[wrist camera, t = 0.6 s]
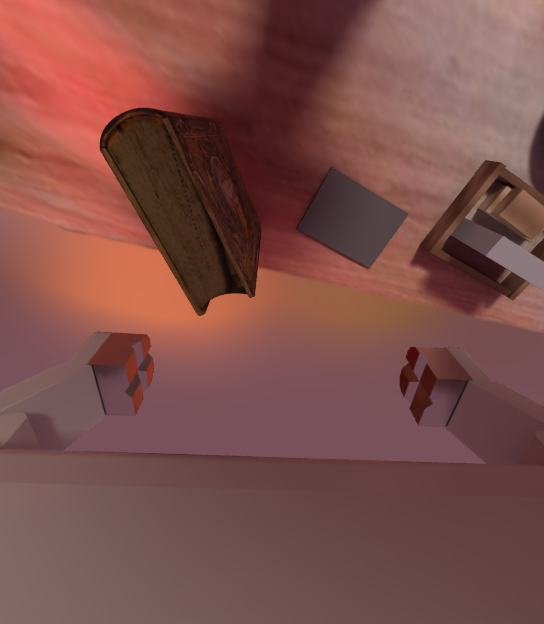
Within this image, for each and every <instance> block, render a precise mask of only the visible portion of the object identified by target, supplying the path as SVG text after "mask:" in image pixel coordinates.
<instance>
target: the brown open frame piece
mask: <svg viewBox="0 0 544 624" xmlns="http://www.w3.org/2000/svg"><path fill="white" fill-rule="evenodd" d="M505 167H506V166H505V165H504V164H502V163H501V162H494V161H487V160H485V161H484V163H483V164H482V165H481V167H480V168H479V169H478V171H477V172H476V173H475V174H474V176H473V177H472V178H471V180H470V181H469V182H468V183H467V185H466V186H465V187H464V189H463V190H462V191H461V193H460V194H459V195H458V196H457V198H456V199H455V200H454V202H453V203H452V204H451V205H450V207H449V208H448V209H447V211H446V212H445V213H444V214H443V216H442V217H441V218H440V220H439V221H438V222H437V224H436V225H435V226H434V227H433V229H432V230H431V231H430V233H429V234H428V235H427V236H426V238H425V239H424V240H423V242H422V243H421V244H420V245H421V246H422V247H423V248H425V249H426V250H427V251H429V252H430V253H432V254H434V255H436V256H438V257H439V258H441V259H443V260H444V261H446V262H448V263H450V264H451V265H453V266H455V267H457V268H458V269H460V270H462V271H464V272H465V273H467V274H469V275H470V276H472V277H474V278H476V279H477V280H479V281H481V282H483V283H484V284H486V285H488V286H489V287H491V288H493V289H495V290H496V291H498V292H500V293H502V294H503V295H505V296H507V297H508V298H510V299H512V300H514V299H515V298H516V297H517V296H518V295H519V294H520V293H521V292H522V291H523V290H524V289H525V288H526V287H527V286H528V285H529V284H530V283H529V282H528V281H526V280H524V279H523V278H521V277H519V276H518V275H516V274H514V273H512V272H511V273H510V275H509V276H508V277H507V278H506V279H505V280H504V281H503V282H502V283H501V284H499V283H498V282H496V281H494V280H492V279H491V278H489V277H487V276H486V275H484V274H482V273H481V272H479V271H477V270H475V269H474V268H472V267H470V266H469V265H467V264H465V263H463V262H462V261H460V260H458V259H457V258H455V257H453V256H452V255H450V254H448V253H446V252H445V251H443V250H441V249H440V247H441V246H442V245H443V244H444V242H445V241H446V240H447V239H448V237H449V236H450V235H451V234H452V233H453V231H454V230H455V229H456V228H457V226H458V225H459V224H460V223H461V221H462V220H463V219H464V218H465V216H466V215H467V214H468V213H469V212H470V210H471V209H472V208H473V207H474V205H475V204H476V203H477V202H478V200H479V199H480V198H481V197H482V195H483V194H484V193H485V192H486V191H487V189H488V188H489V187H490V186H491V184H492V183H493V182H494V181H495V179H496V178H497V179H498V180H500V181H501V182H503V183H504V184H505V185H507V186H509V187H510V188H511V189H513V188H514V187H515V188H519V189H523V190H525V191H526V192H527V193H528V194H529V195H531V196H532V197H533V198H534V199H535V200H537V201H538V202H539V203H540V204H542V205H543V206H544V195H542V194H541V193H539V192H538V191H537V190H535V189H534V188H532V187H531V186H530V185H528V184H527V183H525V182H524V181H523V180H521V179H520V178H518V177H517V176H515V175H514V174H513V173H511V172H510V171H508V170H507V169H506V168H505ZM531 254H532V255H534V256H536V257H537V258H539V259H540V260H542V261H543V262H544V239H543V240H542V241H541V242H540V243H539V244H538V245H537V246H536V247H535V249H534V250H533V251H532V252H531Z"/></svg>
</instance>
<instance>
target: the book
mask: <svg viewBox="0 0 544 624" xmlns="http://www.w3.org/2000/svg"><path fill="white" fill-rule="evenodd" d="M100 151H101V153H102V154H103V156H104V158H105V160H106V161H107V163H108V165H109V166H110V168H111V170H112V171H113V173H114V175H115V176H116V178H117V180H118V182H119V183H120V185H121V187H122V188H123V190H124V192H125V193H126V195H127V197H128V198H129V200H130V202H131V203H132V205H133V207H134V209H135V210H136V212H137V214H138V215H139V217H140V219H141V220H142V222H143V224H144V225H145V227H146V229H147V230H148V232H149V234H150V236H151V237H152V239H153V241H154V242H155V244H156V246H157V247H158V249H159V251H160V252H161V254H162V256H163V257H164V259H165V261H166V263H167V264H168V266H169V268H170V269H171V271H172V273H173V274H174V276H175V278H176V279H177V281H178V283H179V284H180V286H181V288H182V290H183V291H184V293H185V295H186V296H187V298H188V300H189V301H190V303H191V305H192V306H193V308H194V310H195V312H196V313H197V314H198V315H199V316H201V315H204V314H205V312H206V310H207V307H208V304H209V302H210V300H211V299H213V298H214V297H217V296H220V295H224V294H230V293H240V294H247V295H248V296H249V297H250V298H251V297H254V296H255V289H256V279H257V270H258V260H259V250H260V240H261V225H260V222H259V219H258V217H257V214H256V212H255V209H254V207H253V204H252V202H251V200H250V197H249V195H248V192H247V190H246V187H245V185H244V182H243V180H242V178H241V175H240V173H239V170H238V168H237V165H236V163H235V161H234V158H233V156H232V153H231V151H230V148H229V146H228V144H227V141H226V139H225V136H224V134H223V131H222V129H221V126H220V124H219V122H217V121H216V120H213V119H209V118H203V117H197V116H191V115H186V114H180V113H174V112H168V111H162V110H157V109H151V108H136V109H132V110H128V111H126V112H124V113H121V114H120V115H118V116H116V117H115V118H114V119H112V120H111V121H110V122H109V123H108V125H107V126H106V127H105V129H104V130H103V133H102V135H101V138H100Z"/></svg>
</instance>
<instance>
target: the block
mask: <svg viewBox="0 0 544 624" xmlns="http://www.w3.org/2000/svg"><path fill="white" fill-rule="evenodd" d="M451 236H453V237H454V238H456V239H458V240H459V241H461V242H463V243H464V244H466V245H468V246H469V247H471V248H473V249H474V250H476V251H478V252H479V253H481V254H483V255H484V256H486V257H488V258H489V259H491V260H492V261H494V262H496V263H497V264H499V265H501V266H502V267H504V268H506V269H507V270H509V271H511V272H512V273H514V274H516V275H518V276H519V277H521V278H523V279H524V280H526V281H528V282H529V283H531V284H533V285H534V286H536V287H538V288H539V289H541V290H543V291H544V262H543V261H542V260H540V259H539V258H537V257H536V256H534V255H532V254H531V253H529V252H528V251H526V250H525V249H523V248H521V247H520V246H518V245H517V244H515V243H514V242H512V241H510V240H509V239H507V238H506V237H504V236H502V235H500V234H498V233H496V232H494V231H491V230H489V229H487V228H485V227H483V226H481V225H478V224H476V223H474V222H472V221H470V220H468V219H465V218H464V219H463V220H462V221H461V223H460V224H459V225H458V226H457V228H456V229H455V230H454V231H453V233H452V234H451Z"/></svg>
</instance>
